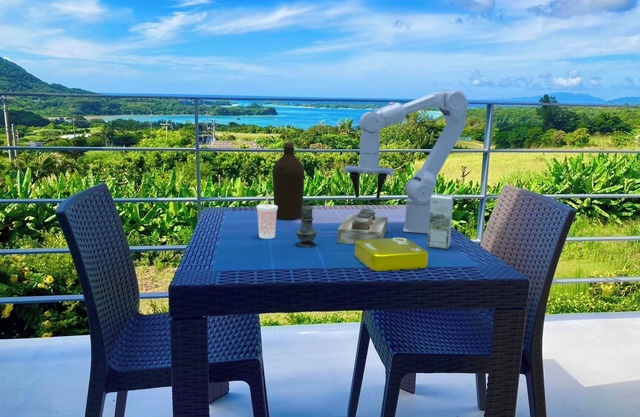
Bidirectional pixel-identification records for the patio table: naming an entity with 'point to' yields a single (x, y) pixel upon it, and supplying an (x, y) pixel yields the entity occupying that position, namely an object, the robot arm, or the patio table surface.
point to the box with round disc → (369, 212)
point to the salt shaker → (306, 228)
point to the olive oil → (288, 185)
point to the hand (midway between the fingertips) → (367, 197)
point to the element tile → (390, 254)
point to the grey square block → (352, 235)
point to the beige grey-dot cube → (365, 216)
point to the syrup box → (440, 221)
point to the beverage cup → (267, 219)
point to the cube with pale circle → (360, 224)
